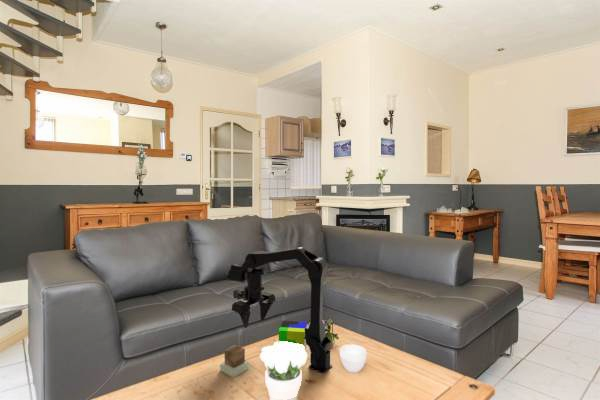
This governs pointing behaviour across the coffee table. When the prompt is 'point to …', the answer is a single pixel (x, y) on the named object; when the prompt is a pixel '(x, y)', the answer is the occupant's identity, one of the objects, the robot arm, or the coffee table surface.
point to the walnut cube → (234, 356)
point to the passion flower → (328, 334)
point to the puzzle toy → (293, 332)
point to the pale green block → (233, 369)
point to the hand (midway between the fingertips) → (254, 323)
